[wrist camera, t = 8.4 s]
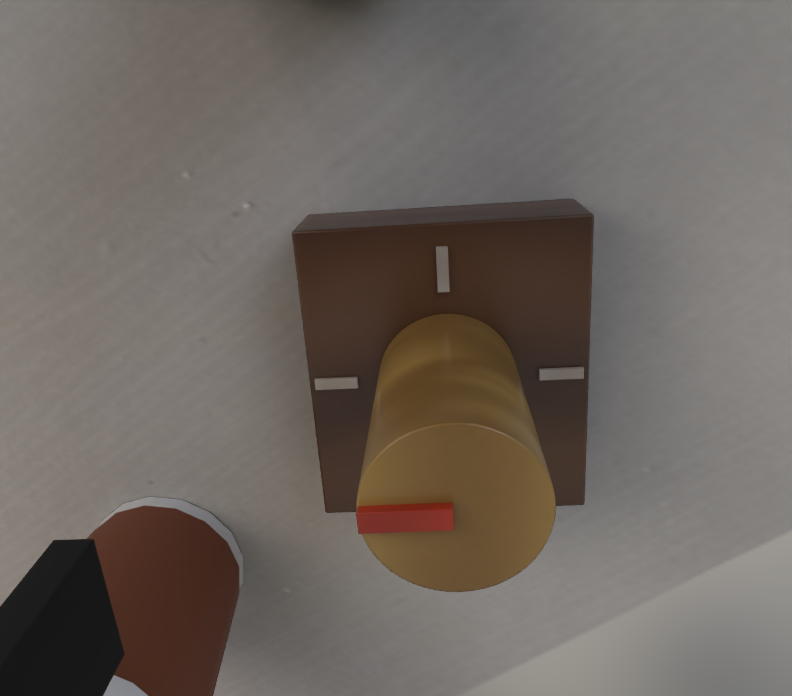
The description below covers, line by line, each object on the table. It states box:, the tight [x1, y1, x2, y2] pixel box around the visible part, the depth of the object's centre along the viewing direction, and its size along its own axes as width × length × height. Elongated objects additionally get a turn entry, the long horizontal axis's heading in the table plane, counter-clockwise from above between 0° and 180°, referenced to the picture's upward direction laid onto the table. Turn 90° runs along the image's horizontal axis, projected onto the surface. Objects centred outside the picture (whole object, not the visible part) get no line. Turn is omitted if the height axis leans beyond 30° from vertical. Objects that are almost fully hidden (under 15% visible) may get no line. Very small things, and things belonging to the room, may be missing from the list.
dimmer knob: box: [356, 314, 556, 592], centre depth 19 cm, size 4×4×8 cm
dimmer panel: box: [292, 199, 594, 513], centre depth 24 cm, size 10×9×3 cm
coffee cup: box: [87, 497, 243, 696], centre depth 24 cm, size 9×9×12 cm
